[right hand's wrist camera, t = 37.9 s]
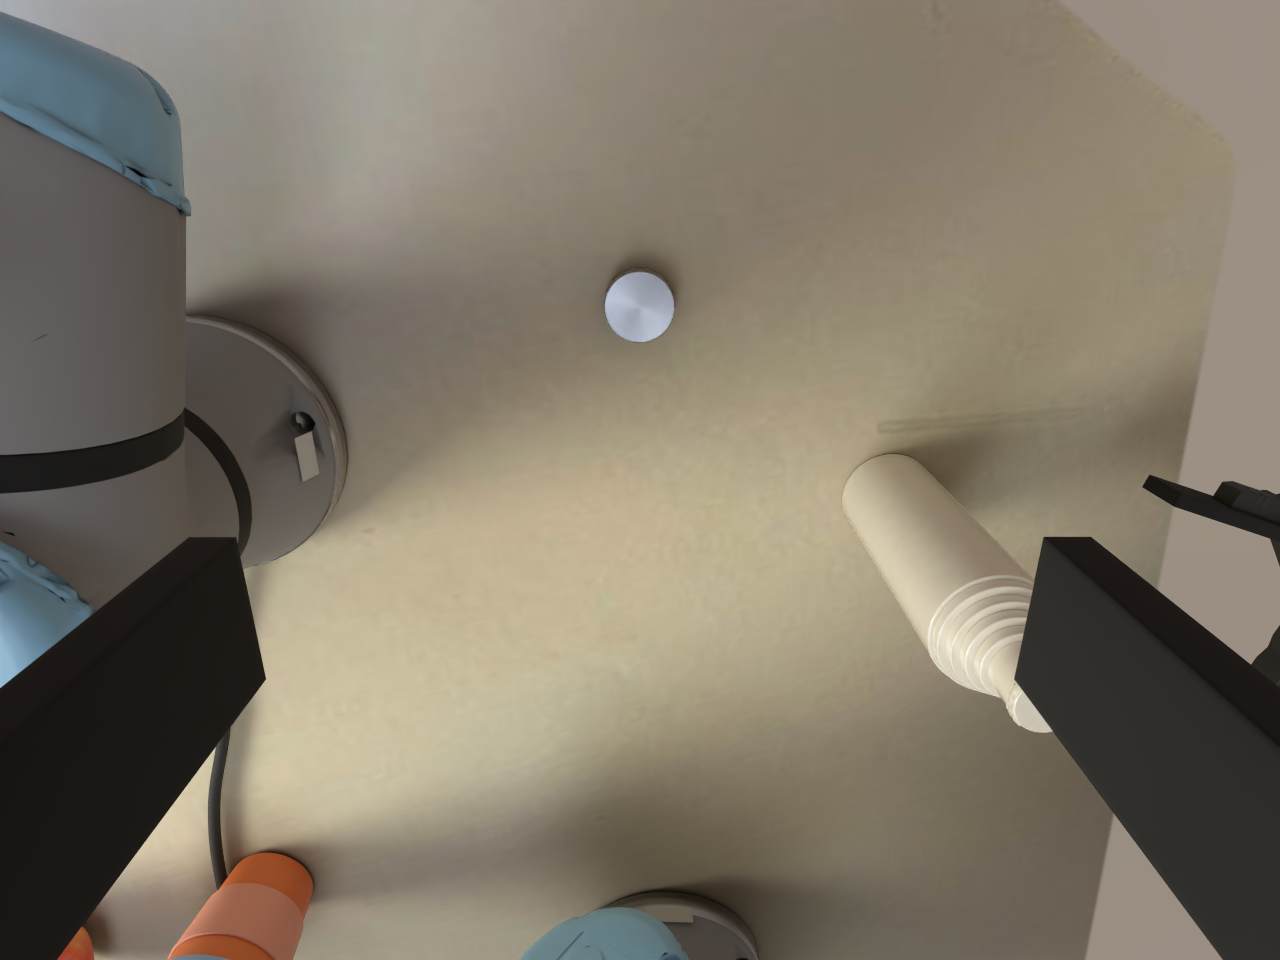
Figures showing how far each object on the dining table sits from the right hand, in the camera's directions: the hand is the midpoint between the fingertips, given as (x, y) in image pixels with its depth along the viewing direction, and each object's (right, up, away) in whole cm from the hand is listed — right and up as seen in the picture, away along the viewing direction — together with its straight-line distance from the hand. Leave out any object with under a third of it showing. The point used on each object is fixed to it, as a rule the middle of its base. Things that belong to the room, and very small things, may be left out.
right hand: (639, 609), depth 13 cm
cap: (0, +12, +30) cm, 32 cm away
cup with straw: (-28, -29, +47) cm, 62 cm away
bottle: (+16, +1, +36) cm, 39 cm away
